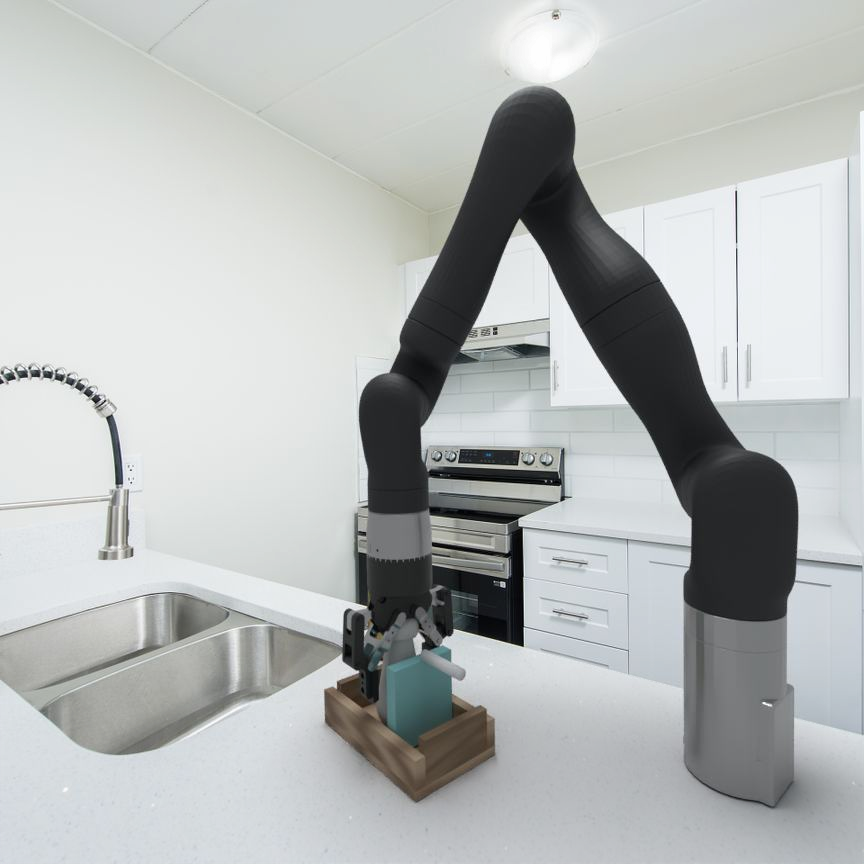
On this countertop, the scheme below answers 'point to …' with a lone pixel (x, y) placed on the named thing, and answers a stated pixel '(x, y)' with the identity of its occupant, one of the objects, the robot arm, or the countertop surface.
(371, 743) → the wooden tray
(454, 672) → the pusher paddle
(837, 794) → the countertop surface
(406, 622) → the salt shaker
